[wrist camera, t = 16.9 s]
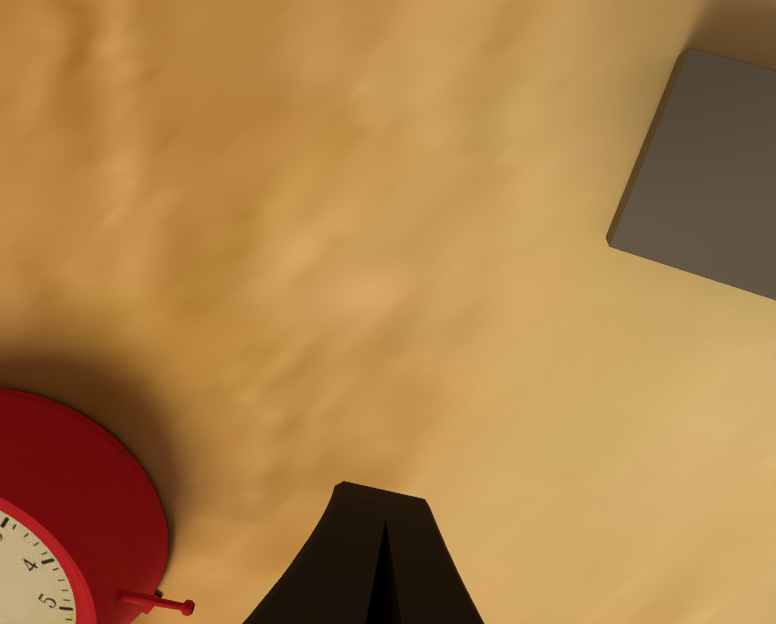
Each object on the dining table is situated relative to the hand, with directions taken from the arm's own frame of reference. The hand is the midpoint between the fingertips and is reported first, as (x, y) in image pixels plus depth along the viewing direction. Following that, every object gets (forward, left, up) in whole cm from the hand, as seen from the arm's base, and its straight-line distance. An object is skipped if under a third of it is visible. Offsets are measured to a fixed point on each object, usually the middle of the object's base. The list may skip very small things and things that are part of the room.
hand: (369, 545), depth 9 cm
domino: (-3, -8, -10) cm, 13 cm away
